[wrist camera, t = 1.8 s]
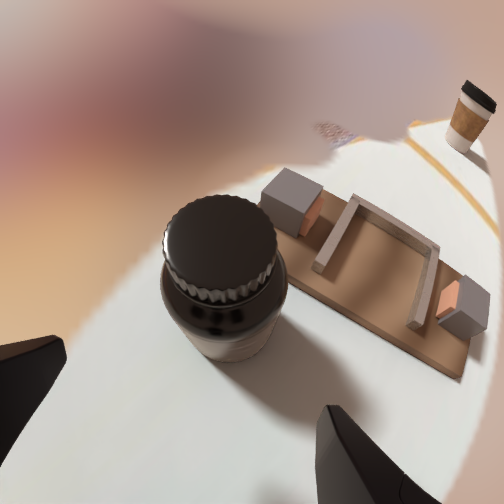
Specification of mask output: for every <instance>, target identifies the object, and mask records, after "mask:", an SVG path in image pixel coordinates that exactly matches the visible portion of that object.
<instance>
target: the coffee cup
mask: <svg viewBox="0 0 504 504" xmlns="http://www.w3.org/2000/svg"><path fill="white" fill-rule="evenodd" d="M461 89H462V93H461V96H460V98H459V99H458V102H457V105H456V108H455V111H454V114H453V117H452V120H451V122H450V125H449V128H448V130H447V133H446V135H445V139H446V141H447V142H448V143H449V144H450V145H451V146H452V147H453V148H454V149H455V150H457V151H458V152H460V153H463V154H465V153H466V152H467V151H468V149H469V148H470V147H471V145H472V144H473V142H474V141H475V140H476V139H477V137H478V136H479V134H480V133H481V131H482V130H483V129H484V127H485V126H486V124H487V123H488V121H489V118H490V116H491V115H492V113H493V114H494V112H495V111H496V110H495V108H496V105H497V104H496V102H495V101H494V100H492V98H490V97H489V96H488V95H487V94H485V93H484V92H483V91H482V90H480V89H479V88H477V87H476V86H474V85H473V84H472V83H471V82H469V81H468V80H467V81H466V82H465V84H464V85H463V86H462V88H461Z"/></svg>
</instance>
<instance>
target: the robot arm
mask: <svg viewBox="0 0 504 504" xmlns="http://www.w3.org/2000/svg"><path fill="white" fill-rule="evenodd" d="M66 361H67V355H66V351H65V346H64V342H63V340H62V339H61V338H60V337H58V336H56V335H50V336H45V337H40V338H36V339H30V340H26V341H21V342H16V343H11V344H6V345H1V346H0V467H1V465H2V463H3V461H4V460H5V458H6V456H7V454H8V453H9V451H10V449H11V448H12V446H13V445H14V443H15V441H16V440H17V438H18V437H19V435H20V433H21V432H22V430H23V429H24V427H25V426H26V424H27V423H28V421H29V420H30V418H31V417H32V415H33V414H34V412H35V411H36V409H37V408H38V407H39V405H40V404H41V402H42V401H43V399H44V398H45V397H46V395H47V394H48V392H49V391H50V389H51V387H52V386H53V384H54V382H55V380H56V379H57V377H58V375H59V373H60V372H61V370H62V368H63V367H64V365H65V363H66ZM315 472H316V484H317V496H318V504H442V503H440V502H439V501H437V500H436V499H434V498H433V497H432V496H430V495H429V494H428V493H427V492H425V491H424V490H423V489H422V488H421V487H419V486H418V485H417V484H416V483H415V482H414V481H413V480H412V479H411V478H410V477H409V476H408V475H407V474H404V472H403V471H402V470H401V469H400V468H399V467H398V466H397V465H396V464H395V463H394V462H393V461H392V460H391V459H390V458H389V457H388V456H387V455H386V454H385V453H384V452H383V451H382V450H381V449H380V448H379V447H378V446H377V445H376V444H375V443H374V442H373V441H372V439H371V438H370V437H369V436H368V435H367V434H366V433H365V432H364V431H363V430H362V429H361V428H360V427H359V426H358V425H357V424H356V423H355V422H354V421H353V420H352V419H351V417H350V416H349V415H348V414H347V413H346V412H345V411H344V410H343V409H342V408H341V407H340V406H339V405H326V406H325V407H324V409H323V411H322V413H321V416H320V418H319V420H318V422H317V427H316V457H315Z"/></svg>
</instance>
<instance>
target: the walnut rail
mask: <svg viewBox="0 0 504 504" xmlns="http://www.w3.org/2000/svg"><path fill="white" fill-rule="evenodd" d="M257 206H258V207H259V208H262V209H263V210H264V213H265V214H267V215H268V216H269V217H270V221H271V222H272V223H273V224H274V230H275V231H276V233H277V242H278V248H277V249H278V250H279V252H280V253H281V255H282V257H283V259H284V262H285V264H286V268H287V273H288V282H290V283H291V284H293V285H295V286H296V287H298V288H300V289H301V290H303V291H305V292H306V293H308V294H310V295H311V296H313V297H315V298H316V299H318V300H320V301H321V302H323V303H325V304H326V305H328V306H330V307H331V308H333V309H335V310H337V311H338V312H340V313H342V314H343V315H345V316H347V317H348V318H350V319H352V320H353V321H355V322H357V323H359V324H360V325H362V326H364V327H365V328H367V329H369V330H370V331H372V332H374V333H376V334H377V335H379V336H381V337H382V338H384V339H386V340H387V341H389V342H391V343H393V344H394V345H396V346H398V347H399V348H401V349H403V350H405V351H406V352H408V353H410V354H411V355H413V356H415V357H417V358H418V359H420V360H422V361H423V362H425V363H427V364H429V365H430V366H432V367H434V368H436V369H437V370H439V371H441V372H442V373H444V374H446V375H448V376H449V377H451V378H453V379H455V378H459V377H462V373H463V369H464V365H465V361H466V357H467V353H468V348H469V344H470V338H471V337H473V336H475V335H477V334H479V333H480V332H482V331H484V330H486V329H487V324H488V315H489V305H490V293H488V292H487V291H486V290H485V289H483V288H482V287H481V286H480V285H478V284H477V283H476V282H475V281H473V280H472V279H471V278H469V277H468V276H467V275H464V276H462V275H461V274H460V273H458V272H457V271H456V270H454V269H453V268H451V267H450V266H449V265H447V264H446V263H444V262H443V261H442V260H440V259H439V252H440V246H438V245H437V244H435V243H434V242H432V241H431V240H429V239H428V238H426V237H425V236H423V235H422V234H420V233H419V232H417V231H416V230H414V229H413V228H411V227H410V226H408V225H406V224H405V223H403V222H402V221H400V220H398V219H397V218H395V217H393V216H392V215H390V214H388V213H387V212H385V211H383V210H382V209H380V208H378V207H377V206H375V205H373V204H371V203H370V202H368V201H366V200H364V199H363V198H361V197H359V196H357V195H355V194H354V193H353V195H352V197H351V198H350V200H349V202H346V201H344V200H342V199H340V198H339V197H337V196H335V195H333V194H331V193H329V192H327V191H325V190H323V186H322V185H320V184H318V183H316V182H314V181H312V180H310V179H308V178H306V177H304V176H302V175H300V174H298V173H295V172H293V171H291V170H289V169H287V168H284V169H283V170H282V171H281V172H280V173H279V174H278V175H277V176H276V177H275V178H274V179H273V180H272V181H271V182H270V183H269V184H268V185H267V186H266V187H265V188H264V189H263V191H262V192H261V201H260V202H259V203H258V205H257Z"/></svg>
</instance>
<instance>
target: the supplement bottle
mask: <svg viewBox="0 0 504 504" xmlns="http://www.w3.org/2000/svg"><path fill="white" fill-rule="evenodd" d="M162 244H163V247H164V248H163V255H164V258H165V261H164V264H163V267H162V271H161V278H160V288H161V295H162V299H163V301H164V304H165V306H166V308H167V310H168V312H169V314H170V315H171V317H172V318H173V320H174V321H175V322H176V324H177V325H178V326H179V328H180V329H181V330H182V332H183V333H184V334H185V335H186V337H187V338H188V339H189V341H190V342H191V343H192V344H193V345H194V347H195V348H196V349H197V350H198V351H199V352H201V353H202V354H203V355H205V356H207V357H209V358H211V359H213V360H216V361H220V362H238V361H242V360H245V359H247V358H250V357H251V356H253V355H255V354H256V353H257V352H258V351H259V350H261V348H262V347H263V346H264V345H265V343H266V342H267V340H268V338H269V336H270V334H271V332H272V330H273V328H274V325H275V323H276V321H277V318H278V316H279V314H280V312H281V309H282V307H283V305H284V302H285V299H286V295H287V290H288V273H287V268H286V264H285V262H284V259H283V257H282V255H281V253H280V252H279V250H278V249H277V248H278V242H277V233H276V231H275V230H274V224H273V223H272V222H271V221H270V217H269V216H268V215H267V214H265V213H264V210H263V209H262V208H259V207H258V206H257V205H256V204H255V203H252V202H250V201H248V200H247V199H243V198H240V197H238V196H230V195H214V196H206V197H204V198H201V199H196V200H195V201H194V202H191V203H188V204H187V205H186V206H185V207H184V208H181V209H180V210H179V211H178V213H177V214H175V215H174V216H173V217H172V220H171V221H170V222H169V223H168V224H167V229H166V230H165V232H164V239H163V241H162Z"/></svg>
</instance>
